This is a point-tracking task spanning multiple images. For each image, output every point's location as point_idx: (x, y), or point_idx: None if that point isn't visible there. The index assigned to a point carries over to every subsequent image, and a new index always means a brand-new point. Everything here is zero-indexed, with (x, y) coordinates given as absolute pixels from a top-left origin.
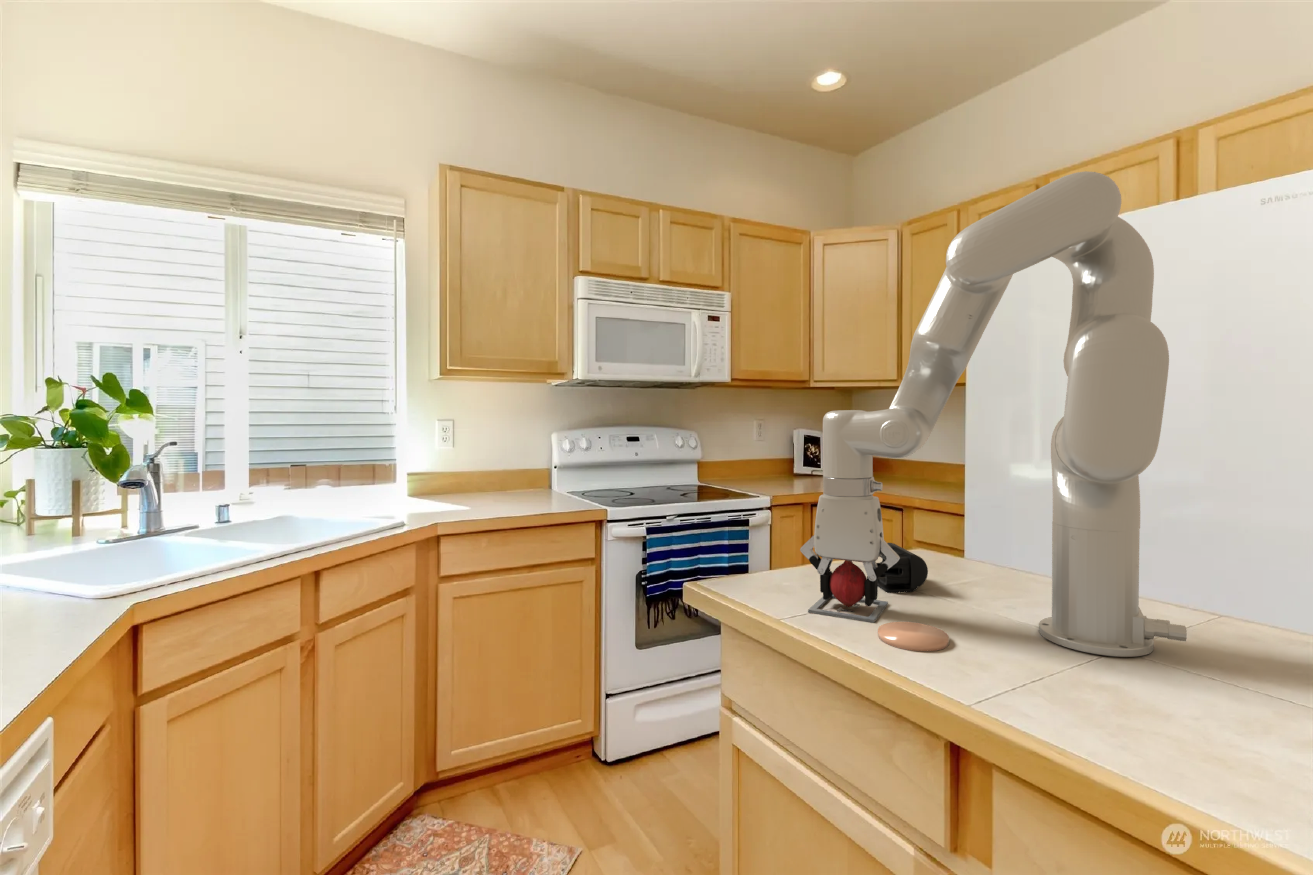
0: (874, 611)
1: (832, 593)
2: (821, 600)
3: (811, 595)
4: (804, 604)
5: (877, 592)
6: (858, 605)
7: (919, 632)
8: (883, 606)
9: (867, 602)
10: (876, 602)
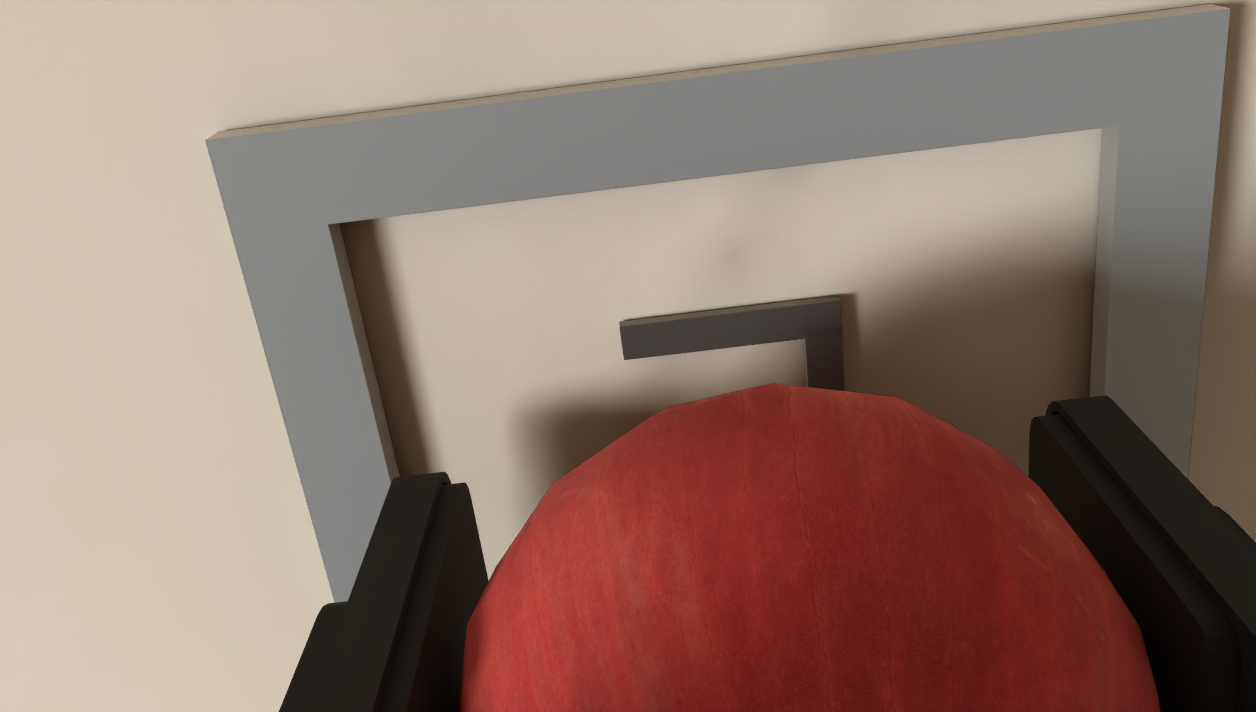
0: None
1: (465, 504)
2: (350, 518)
3: (40, 260)
4: (221, 650)
5: (1247, 538)
6: (837, 367)
7: None
8: (1191, 286)
9: None
10: (1055, 133)
